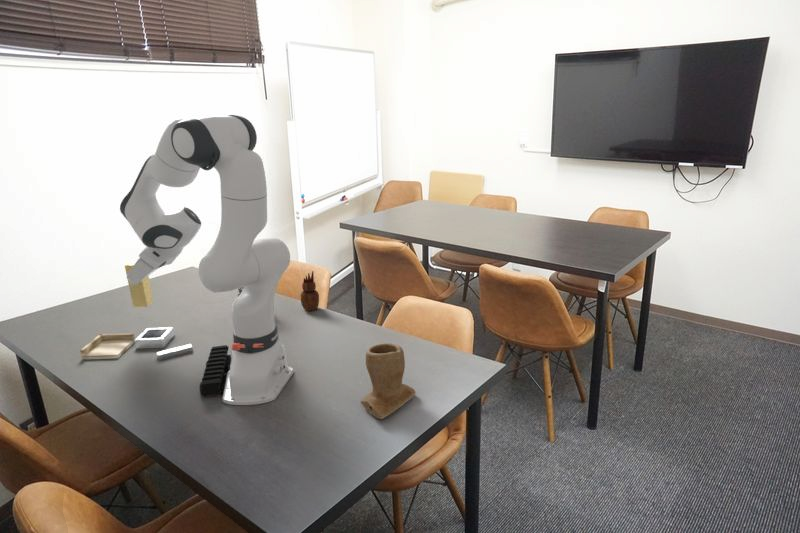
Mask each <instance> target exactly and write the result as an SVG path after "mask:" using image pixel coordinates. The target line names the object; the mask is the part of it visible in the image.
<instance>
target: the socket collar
mask: <svg viewBox="0 0 800 533" xmlns="http://www.w3.org/2000/svg"><path fill="white" fill-rule="evenodd" d="M175 335H176V333H175V330H174V327H173V326H172V327H171V326H168V327H147V328H145V330H143V332H141V333H140V334H139V335H138V336H137V337H136V338H135V343H134V345H135V349H160V348H162V349H163V348H165V347H166V346H167V345H168V344H169V343H170V342H171V340H172V339H173V338H174V337H175Z"/></svg>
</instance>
